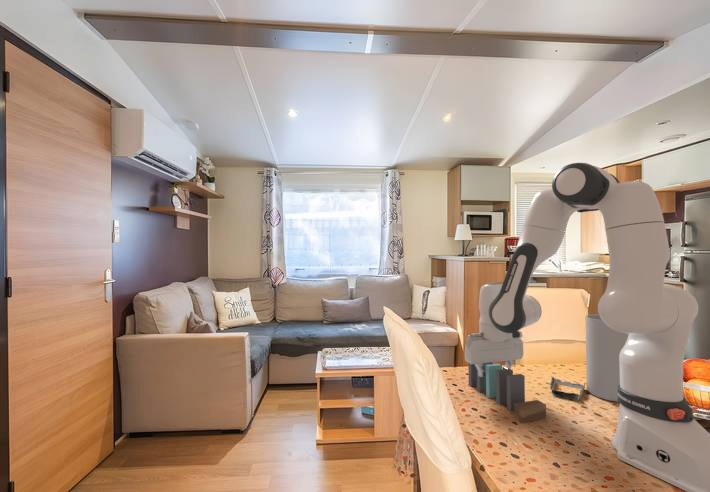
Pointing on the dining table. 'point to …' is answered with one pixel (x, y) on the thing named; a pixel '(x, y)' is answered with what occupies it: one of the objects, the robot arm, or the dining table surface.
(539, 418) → the end block
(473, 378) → the domino
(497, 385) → the domino
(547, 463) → the dining table surface
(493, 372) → the teal domino
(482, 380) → the domino
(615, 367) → the cylinder vase
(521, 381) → the domino
